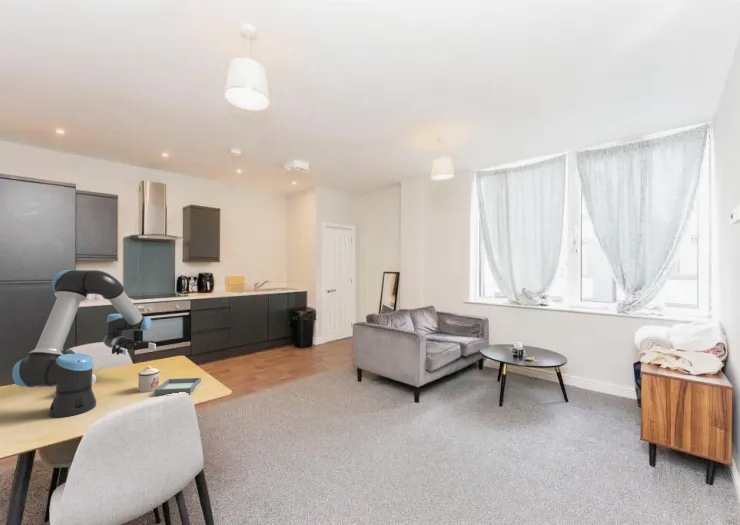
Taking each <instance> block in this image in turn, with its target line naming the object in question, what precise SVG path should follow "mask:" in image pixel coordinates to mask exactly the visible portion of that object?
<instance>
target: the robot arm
mask: <svg viewBox="0 0 740 525" xmlns="http://www.w3.org/2000/svg"><path fill="white" fill-rule="evenodd" d="M51 286H52V287H51V289H52V290H53V292H54V296H55V297H56V300H55V302H54V305H53V306H52V309H51V312H50V314H49V316H48V318H47V320H46V323H45V325H44V327H43V331H42V333H41V335H40V337H39V340H38V342H37V344H36V346H35V348H34V349H33V350H31V351H29V352H28V353H27V356H26V358H22V359H20V360H18V361H17V362H16V363H15V364H14V366H13V368H12V371H11V372H12V373H11V374H12V375H11V376H12V377H11V378H12V380H13V381H14V382H13V383H14V384H15V385H17V386H19V387H23V388H37V387H38V388H41V387H42V388H45V387H47V388H48V387H55V395H54V398H53V399H52V402H51V405H50V406H49V410H48V411H49V412H48V415H49V416H50V417H52V418H65V417H66V418H67V417H71V416H72V417H73V416H77V415H80V414H83V413H85V412H89V411H91V410H93V409H94V408H96V406H97V398H96V396H95V394H94V390H93V388H92V386H93V385H92V373H93V367H94V364H93V357H92V356H91V355H90V354H86V353H75V354H65V355H63V354H62V352H61V350H62V348H63V347H64V346H65V342H66V340H67V338H68V335H69V332H70V330H71V327H72V325H73V322H74V319H75V317H76V314H77V311H78V309H79V307H80V304H81V303H82V302H83V301H85V300H86V299H87V297H88V295H98V296H101V297H102V298H103V299H105V300H108V301H109V303H110V304H111V305H112V306H113V307H114V308H115V310H116V311H117V312H118V313H110V314H108V315H107V320H106V335H105V336H104V338H103V344H104V345H105V346H106V347H107V348H110V349H111V354H112V355H114V354H115V353H116V355H117V356H118V355H120V354H121V355H125V356H128V351H129V350H131V349H138V348H148V349H152V350H157V344H156V343H155V341H154V340H141V339H140V340H138V341H136V340H135V341H133V339H132V338H131V337H128V336H124V331H133V332H134V331H135V332H137V331H139V332H141V331H148V330H149V329H150V328H151V327H152V319H151V318H150V317H147V316H143V314H141V312H140V311H139V310H138V308H137V306H135V304H134V303H133V301H132V300H131V299H130V297H129V296H128V295H127V294H126V292H125V287H124V285H123V284H122V283H121V282H120V281H119V280H118V279H117V278H116V277H114V275H111V274H110V273H108V272H105V271H101V270H98V269H93V270H92V269H90V270H88V269H87V270H85V269H69V270H61V271H60V272H58V273H57V274H56V275H55V276H54V278H53V279H52V281H51ZM63 349H64V348H63Z"/></svg>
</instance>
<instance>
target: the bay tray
mask: <svg viewBox="0 0 740 525" xmlns="http://www.w3.org/2000/svg"><path fill="white" fill-rule="evenodd" d="M200 382H201V383H202V377H184V378H167V379H166V380H165V381H164V382H162V383H161V384H159V387H158V388H156V389H155V390H154V397H160V396H161V395H166V394H172V393H179V392H186V393H191V392H192V391H193V390H194V389H195V387H196V386H197V385H198V384H199V383H200ZM195 390H196V389H195ZM195 390H194V391H195ZM194 391H193V392H194ZM193 392H192V393H193ZM192 393H191V394H192ZM166 396H167V395H166Z"/></svg>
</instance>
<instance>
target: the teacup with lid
mask: <svg viewBox="0 0 740 525" xmlns="http://www.w3.org/2000/svg"><path fill="white" fill-rule="evenodd" d="M137 375H138V383H137V384H138V386H137V388H138V389H137V390H138V392H140V393H149V392H155V389H156V388H158V387H159V386H160V384H159V383H160V369H159V368H155V367H152V365H148V366H146V368H144V369H143V370H140V371H139V372H138V374H137Z"/></svg>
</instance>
